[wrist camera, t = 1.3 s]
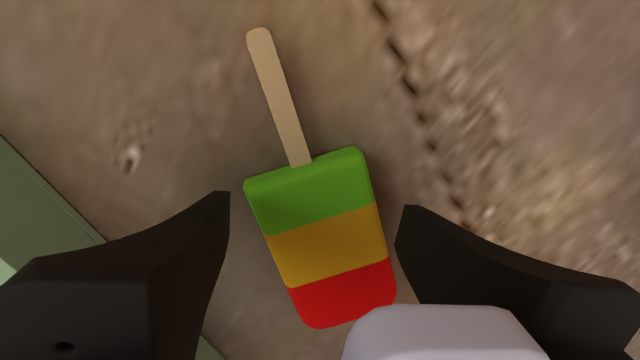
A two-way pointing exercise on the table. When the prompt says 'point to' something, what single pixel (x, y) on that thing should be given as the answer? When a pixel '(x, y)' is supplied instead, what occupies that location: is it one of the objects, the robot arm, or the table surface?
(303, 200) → the popsicle
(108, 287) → the robot arm
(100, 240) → the tote
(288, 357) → the table surface
